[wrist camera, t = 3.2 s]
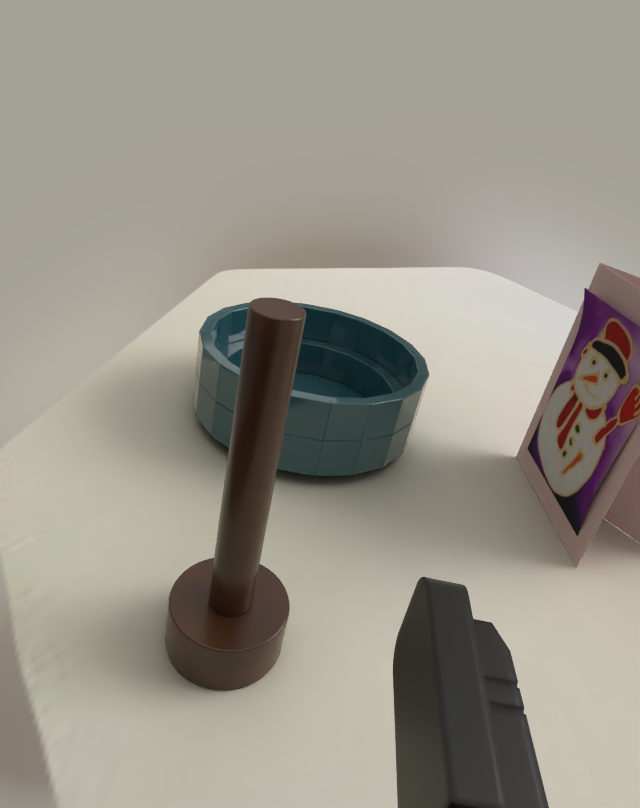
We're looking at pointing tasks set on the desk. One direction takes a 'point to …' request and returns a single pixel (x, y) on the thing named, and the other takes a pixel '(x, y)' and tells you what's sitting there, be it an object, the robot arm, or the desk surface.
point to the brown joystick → (242, 522)
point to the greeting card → (591, 419)
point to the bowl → (321, 390)
